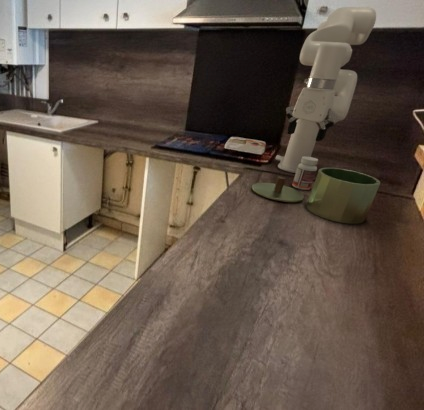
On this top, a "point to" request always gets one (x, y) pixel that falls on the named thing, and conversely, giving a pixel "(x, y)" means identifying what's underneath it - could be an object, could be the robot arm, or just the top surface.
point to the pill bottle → (305, 173)
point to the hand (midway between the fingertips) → (304, 137)
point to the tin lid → (278, 191)
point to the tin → (342, 195)
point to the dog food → (245, 145)
